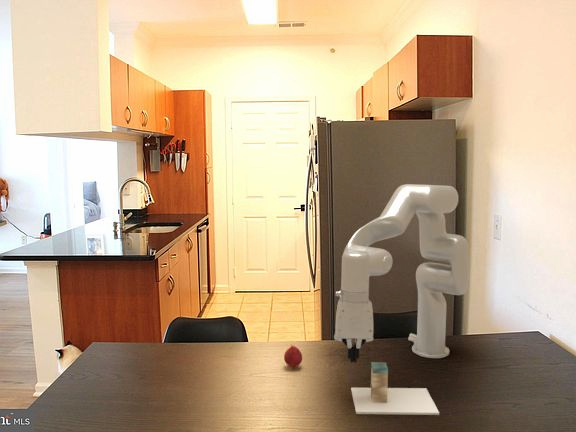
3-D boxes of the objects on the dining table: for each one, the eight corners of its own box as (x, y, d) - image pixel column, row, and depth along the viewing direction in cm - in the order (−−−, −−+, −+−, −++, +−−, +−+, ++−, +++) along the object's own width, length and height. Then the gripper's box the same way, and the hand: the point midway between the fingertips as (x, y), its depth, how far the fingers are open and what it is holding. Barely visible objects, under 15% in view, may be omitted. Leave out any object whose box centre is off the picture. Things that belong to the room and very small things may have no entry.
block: (372, 402, 138) (373, 368, 137) (370, 395, 142) (371, 362, 141) (387, 402, 138) (387, 368, 137) (384, 396, 142) (385, 362, 141)
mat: (356, 413, 134) (356, 411, 134) (351, 389, 148) (351, 387, 148) (439, 414, 133) (439, 412, 133) (426, 390, 147) (426, 388, 147)
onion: (304, 365, 164) (304, 342, 163) (299, 373, 159) (299, 348, 158) (287, 363, 166) (287, 340, 165) (281, 370, 161) (281, 346, 160)
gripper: (328, 299, 133) (326, 365, 135) (384, 300, 133) (382, 366, 135) (326, 292, 141) (325, 355, 143) (380, 293, 140) (378, 356, 142)
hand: (353, 360), depth 139 cm, fingers closed
